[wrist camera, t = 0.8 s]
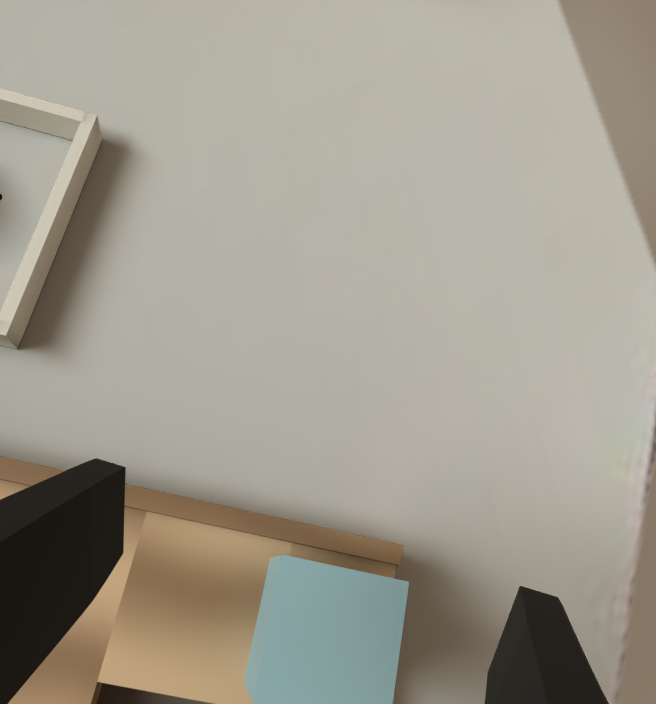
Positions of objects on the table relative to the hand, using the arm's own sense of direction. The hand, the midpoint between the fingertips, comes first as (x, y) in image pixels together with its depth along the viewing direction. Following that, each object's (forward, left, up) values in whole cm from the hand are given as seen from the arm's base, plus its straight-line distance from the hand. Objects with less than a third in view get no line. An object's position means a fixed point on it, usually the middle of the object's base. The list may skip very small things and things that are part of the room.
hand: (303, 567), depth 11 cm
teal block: (-2, -3, -15) cm, 16 cm away
